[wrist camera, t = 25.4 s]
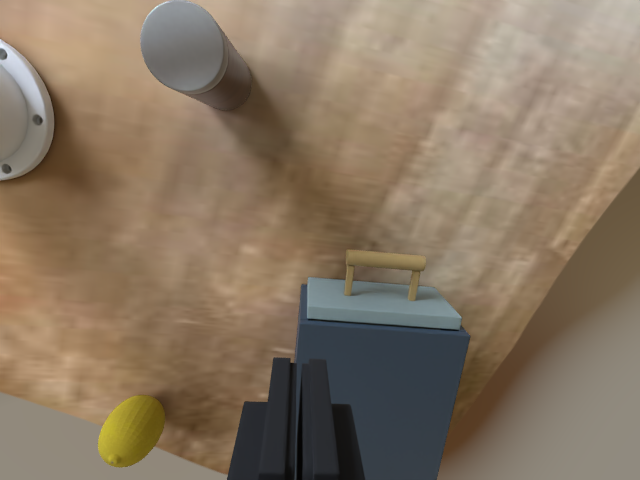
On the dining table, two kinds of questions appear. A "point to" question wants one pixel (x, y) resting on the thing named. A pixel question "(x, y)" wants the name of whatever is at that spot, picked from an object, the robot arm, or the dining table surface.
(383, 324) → the drawer
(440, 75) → the dining table surface
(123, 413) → the lemon
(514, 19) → the dining table surface
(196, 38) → the brown lidded jar
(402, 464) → the cabinet
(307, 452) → the robot arm
